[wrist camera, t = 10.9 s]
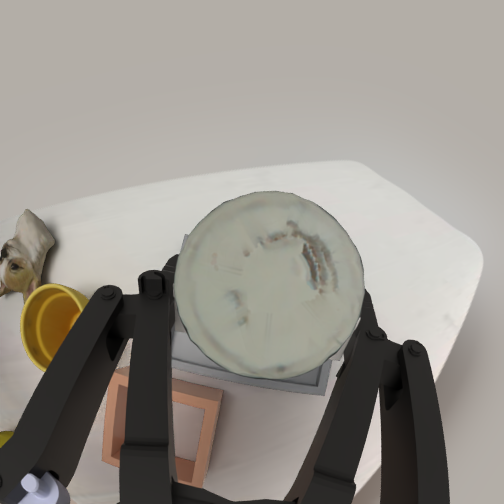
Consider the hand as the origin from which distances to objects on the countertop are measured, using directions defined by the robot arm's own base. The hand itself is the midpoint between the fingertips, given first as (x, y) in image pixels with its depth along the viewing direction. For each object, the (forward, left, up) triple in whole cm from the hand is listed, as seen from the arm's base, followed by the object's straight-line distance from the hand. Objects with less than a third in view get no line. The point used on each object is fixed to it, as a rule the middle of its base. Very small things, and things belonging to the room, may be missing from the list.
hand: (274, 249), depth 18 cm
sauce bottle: (0, -4, -9) cm, 9 cm away
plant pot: (-22, -10, -20) cm, 31 cm away
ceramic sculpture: (-35, -4, -21) cm, 40 cm away
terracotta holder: (-9, -19, -20) cm, 29 cm away
